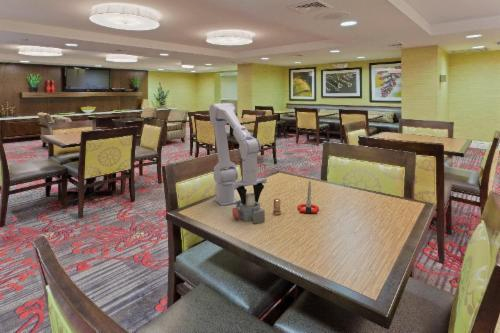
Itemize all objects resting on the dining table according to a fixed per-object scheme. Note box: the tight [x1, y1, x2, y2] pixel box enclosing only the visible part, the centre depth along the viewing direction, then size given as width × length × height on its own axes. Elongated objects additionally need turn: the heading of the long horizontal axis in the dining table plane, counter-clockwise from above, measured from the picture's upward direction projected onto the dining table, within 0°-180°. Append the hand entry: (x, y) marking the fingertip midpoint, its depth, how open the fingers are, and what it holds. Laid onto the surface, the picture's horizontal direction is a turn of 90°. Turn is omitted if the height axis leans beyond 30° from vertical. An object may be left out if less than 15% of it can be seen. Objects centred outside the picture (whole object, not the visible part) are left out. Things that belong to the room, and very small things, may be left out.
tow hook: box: [296, 180, 320, 215], centre depth 136 cm, size 9×14×10 cm
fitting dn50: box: [244, 192, 256, 207], centre depth 129 cm, size 5×5×6 cm
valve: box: [231, 199, 266, 225], centre depth 129 cm, size 15×11×5 cm
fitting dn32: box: [272, 198, 282, 216], centre depth 133 cm, size 3×3×6 cm
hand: (249, 202), depth 129 cm, fingers open, 5 cm apart
